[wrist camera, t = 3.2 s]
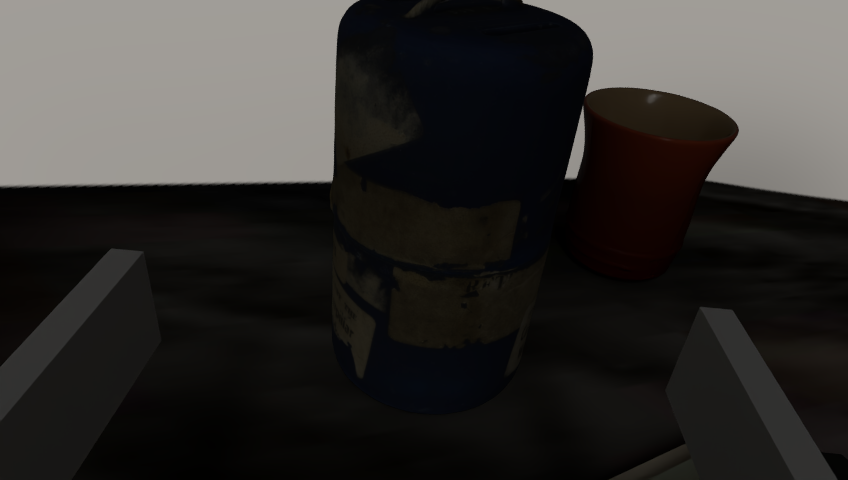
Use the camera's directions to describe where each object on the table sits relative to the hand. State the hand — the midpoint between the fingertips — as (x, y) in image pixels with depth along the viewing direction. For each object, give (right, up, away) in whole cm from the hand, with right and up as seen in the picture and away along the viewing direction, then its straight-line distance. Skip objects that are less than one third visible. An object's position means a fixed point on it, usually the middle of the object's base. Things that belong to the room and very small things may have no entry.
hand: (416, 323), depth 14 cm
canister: (0, -4, +16) cm, 17 cm away
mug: (+14, +1, +27) cm, 30 cm away
